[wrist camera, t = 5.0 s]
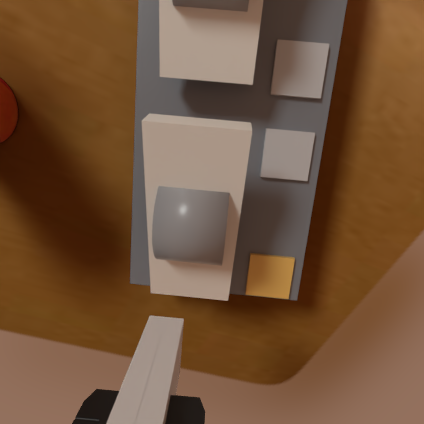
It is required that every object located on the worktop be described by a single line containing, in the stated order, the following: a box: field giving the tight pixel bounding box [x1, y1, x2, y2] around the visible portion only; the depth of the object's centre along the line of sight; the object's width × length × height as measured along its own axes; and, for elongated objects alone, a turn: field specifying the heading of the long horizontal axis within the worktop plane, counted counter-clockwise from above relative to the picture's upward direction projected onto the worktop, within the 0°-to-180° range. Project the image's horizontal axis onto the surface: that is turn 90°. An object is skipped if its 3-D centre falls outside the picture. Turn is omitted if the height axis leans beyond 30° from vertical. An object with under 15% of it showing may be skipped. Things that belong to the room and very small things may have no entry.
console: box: [130, 0, 347, 301], centre depth 21 cm, size 12×25×6 cm, turn 175°
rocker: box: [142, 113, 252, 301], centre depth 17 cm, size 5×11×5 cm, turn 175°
